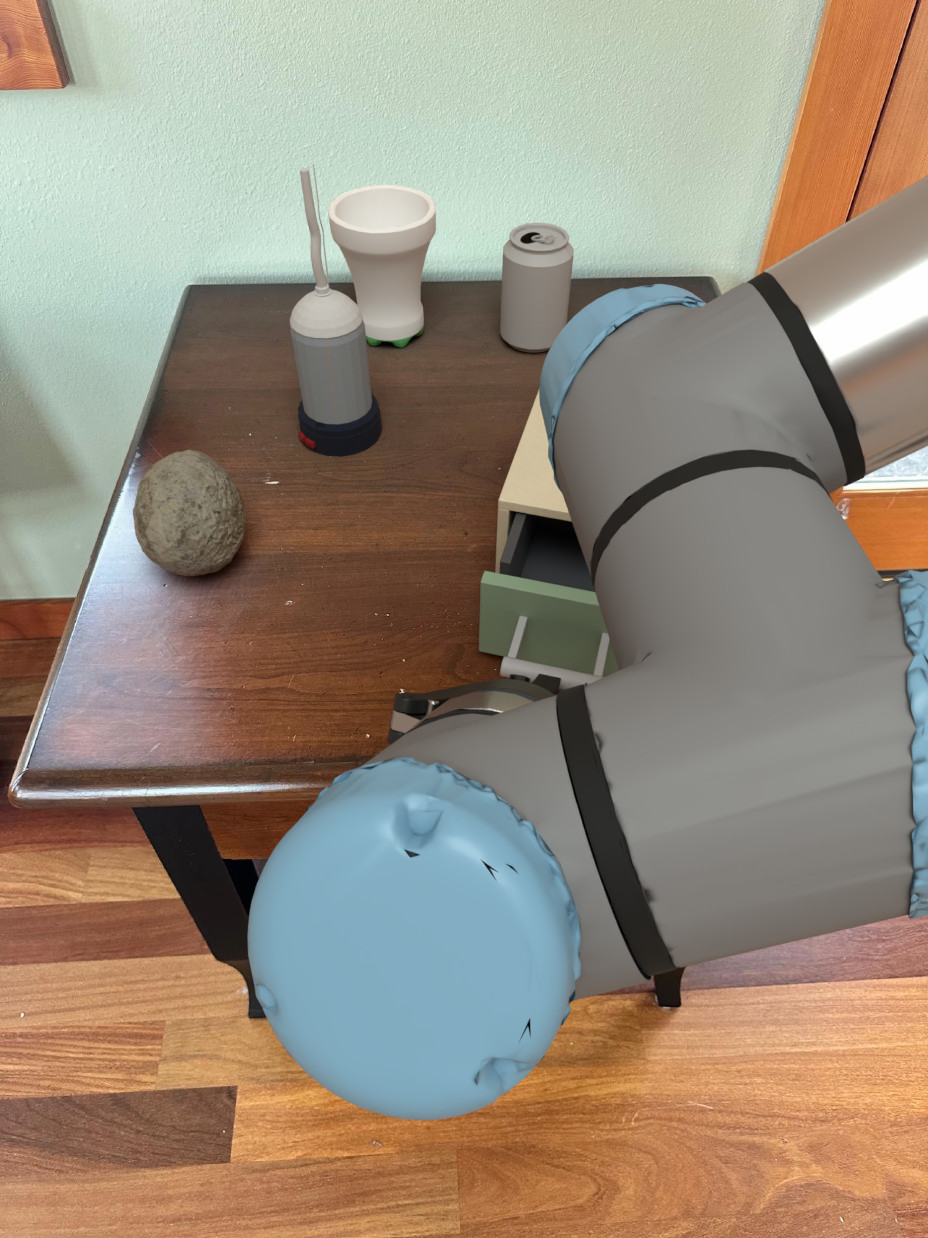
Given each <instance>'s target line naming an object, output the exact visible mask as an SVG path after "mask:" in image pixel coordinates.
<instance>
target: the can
mask: <svg viewBox="0 0 928 1238" xmlns="http://www.w3.org/2000/svg"><path fill="white" fill-rule="evenodd" d="M508 238H509V239H507V241H506V242H505V243H504V245H503V246H502V265H501V266H502V267H501V295H500V296H501V297H500V320H499V321H500V324H499V334H500V336H501V338H502V339H503V340H504V341H505V342H506V343H508V345H510V347H512V348H513V349H515V350H517V351H519V352H524V353H533V354H534V353H543V352H548V351H549V350H550V348H551V346H552V344H553V343H554V341H555V339H556V337H557V336H558V334H559V333H560V332H561V331H562V329H563V328H564V327H565V325H566V324H567V323H568V314H569V303H570V295H571V285H572V274H573V263H574V255H575V253H574V251H575V250H574V247H573V246H572V244H571V243H570V235H569V233H568V232H567V231H566V229H564V228H562V227H561V226H559V225H556V224H553V223H548V222H527V223H524V224H520V225H518V226H516V227H514V228H513V229H512V230H511V231H510V232H509V237H508Z"/></svg>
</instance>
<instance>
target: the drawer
mask: <svg viewBox="0 0 928 1238" xmlns="http://www.w3.org/2000/svg"><path fill="white" fill-rule="evenodd" d="M479 586H480V587H479V589H480V591H479V626H478V632H479V633H478V651H479V652H480V653H486V654H490V655H495V656H500V657H503V658H502V661H501V665H500V669H499V676H500V677H503V678H506V679H510V675H511V674H516V675H522V676H526V677H529V678H530V683H532V682H533V681H534V680H535V678H536V677H537V676H538V674H544V675H549V676H554V677H558V678H561V682H560V687H559V690H561V691H562V690H565V689H568V688H572V687H575V686H578V685H581V684H585V683H586V682H587V684H590V683H593V682H595V681H597V680H599V679H601V678H604V677H606V676H608V675H610V674H612V673H615V672H617V671H619V667H618V664H617V661H616V658H615V654H614V651H613V648H612V645H611V642H610V638H609V635H608V632H607V629H606V626H605V622H604V619H603V616H602V613H601V609H600V606H599V603H598V600H597V596H596V593H595V590H594V587H593V584H592V580H591V575H590V572H589V569H588V567H587V564H586V561H585V558H584V555H583V552H582V549H581V546H580V543H579V541H578V538H577V535H576V532H575V529H574V526H573V523H572V522H571V521H565V520H560V519H554V518H549V517H543V516H538V515H532V514H527V513H521V512H517V513H516V515H515V518H514V521H513V524H512V527H511V530H510V533H509V536H508V539H507V542H506V545H505V548H504V551H503V554H502V557H501V560H500V571H499V573H495V572H494V571H488V570H484V571H483V573H482V576H481V579H480V585H479Z"/></svg>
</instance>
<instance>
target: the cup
mask: <svg viewBox="0 0 928 1238" xmlns="http://www.w3.org/2000/svg"><path fill="white" fill-rule="evenodd" d="M327 214H328V215H327V216H328V221H329V228H330V235H331V237H332V240H333V242H335V244H336V245H337V246H338V247H339V250H340V251H341V253H342V255H343V258H344V259H345V262H346V265H347V267H348V270H349V273H350V275H351V278H352V283H353V285H354V286H353V287H354V292H355V298H356V304H357V305H358V307H359V309H360V310H361V312H362V315H363V321H364V324H365V333H366V342H367V344H368V345H370V346H372V347H377V346H379V345H381V344H382V343H384V342H385V343H391V344H392V345H393V346H395V347H397V348H404V347H405V346H407V345H408V343H409V342H410V340H411V339H412V338H413V337H419V336H421V335H423V332H424V328H425V321H424V320H425V319H424V318H425V317H424V306H423V303H422V301H421V298H422V297H421V293H422V292H421V289H422V288H421V287H422V277H423V271H424V267H425V261H426V258H427V254H428V250H429V248H430V244H431V241H432V240H433V238H434V236H435V235H436V232H437V204H436V202H435V200H434V198H432V197H431V196H430V195H428V194H427V193H426V192H424V191H422V190H419V189H417V188H413V187H409V186H404V185H399V184H373V185H364V186H361V187H357V188H353V189H350V190H347V191H345V192H342V193H341V194H340V195H338V196H336V197H335V198H334V199H333V200H332V202H330V204H329V205H328V210H327Z"/></svg>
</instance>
